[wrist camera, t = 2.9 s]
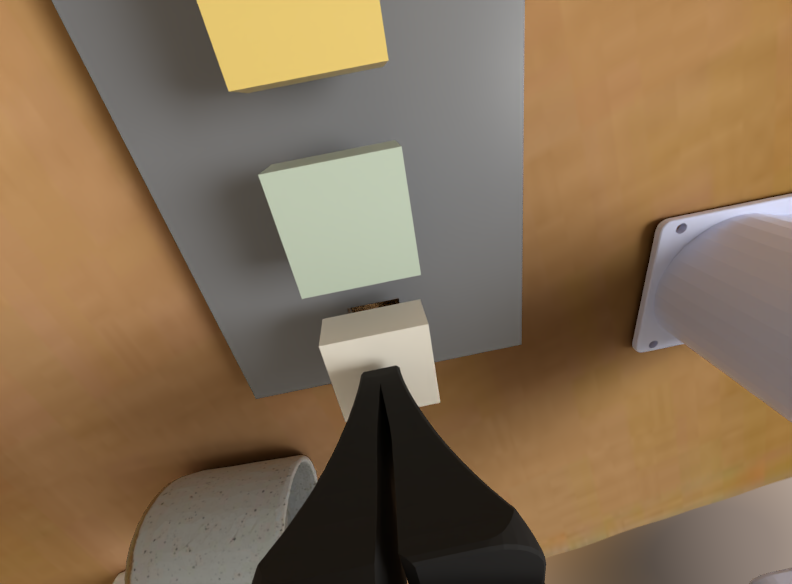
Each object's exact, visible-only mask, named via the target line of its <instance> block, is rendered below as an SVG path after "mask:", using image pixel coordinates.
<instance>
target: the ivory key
mask: <svg viewBox="0 0 792 584" xmlns="http://www.w3.org/2000/svg"><path fill="white" fill-rule="evenodd" d="M319 349H320V352H321V354H322V357H323V360H324V363H325V366H326V369H327V371H328V374H329V377H330V380H331V383H332V386H333V388H334V391H335V394H336V397H337V400H338V403H339V405H340V408H341V411H342V414H343V417H344V419H345V422H347V420H348V418H349V415H350V412H351V409H352V406H353V404H354V401H355V397H356V394H357V391H358V387H359V383H360V378H361V375H362V373H363V372H366V371H371V370H376V369H381V368H386V367H390V366H395V365H397V366H398V367H400V371H401V374H402V377H403V379H404V382H405V384H406V386H407V388H408V390H409V392H410V393H411V395H412V397H413V399H414V400H415V402H416V404H417V405H418V407H421V406H426V405H431V404H436V403H440V397H439V390H438V384H437V377H436V371H435V364H434V357H433V351H432V344H431V337H430V331H429V324H428V321H427V318H426V315H425V312H424V309H423V306H422V303H421V300H420V299H419V300H414V301H409V302H404V303H399V304H394V305H389V306H384V307H379V308H374V309H370V310H365V311H360V312H355V313H350V314H345V315H340V316H335V317H330V318H325V319H323V320H322V327H321V334H320V341H319Z"/></svg>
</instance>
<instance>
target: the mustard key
mask: <svg viewBox="0 0 792 584" xmlns="http://www.w3.org/2000/svg"><path fill="white" fill-rule="evenodd" d="M197 3H198V6H199V9H200V12H201V15H202V17H203V20H204V23H205V26H206V29H207V32H208V34H209V37H210V40H211V43H212V46H213V49H214V51H215V54H216V57H217V60H218V63H219V66H220V68H221V71H222V74H223V77H224V80H225V83H226V85H227V88H228V91H229V92H240V93H251V92H256V91H262V90H267V89H272V88H277V87H282V86H287V85H292V84H297V83H303V82H308V81H313V80H318V79H323V78H328V77H333V76H338V75H344V74H349V73H354V72H359V71H364V70H369V69H374V68H379V67H383V66H384V65H385V64H386V63H387V62H388V61H389V59H388V53H387V46H386V39H385V33H384V26H383V20H382V13H381V6H380V0H197Z"/></svg>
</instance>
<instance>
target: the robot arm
mask: <svg viewBox="0 0 792 584" xmlns="http://www.w3.org/2000/svg"><path fill="white" fill-rule="evenodd" d="M679 225H680V226H679ZM678 226H679V228H678V229H677V227H678ZM676 229H677V230H676ZM681 344H685V345H687V346H688V347H689V348H691V349H692V350H693V351H695V352H696V353H698V354H699V355H700V356H702V357H703V358H704V359H706V360H707V361H709V362H710V363H711V364H713V365H714V366H715V367H717V368H718V369H719V370H721V371H722V372H724V373H725V374H726V375H728V376H729V377H730V378H732V379H733V380H734V381H736V382H737V383H739V384H740V385H741V386H743V387H744V388H745V389H747V390H748V391H749V392H751V393H752V394H754V395H755V396H756V397H758V398H759V399H760V400H762V401H763V402H764V403H766V404H767V405H769V406H770V407H771V408H773V409H774V410H775V411H777V412H778V413H780V414H781V415H782V416H784V417H785V418H786V419H788V420H789V421H790V422H792V193H791V194H786V195H781V196H776V197H771V198H766V199H761V200H757V201H752V202H747V203H742V204H737V205H732V206H727V207H722V208H717V209H712V210H707V211H702V212H697V213H692V214H687V215H682V216H677V217H672V218H668V219H665V220H663V221H662V222H660V223H659V225H658V226H657V228H656V230H655V235H654V240H653V245H652V250H651V255H650V260H649V264H648V269H647V274H646V279H645V284H644V289H643V294H642V298H641V303H640V308H639V313H638V318H637V323H636V328H635V332H634V337H633V342H632V347H633V348H634V349H635V350H636V351H637V352H647V351H652V350H657V349H661V348H666V347H671V346H676V345H681ZM545 570H546V561H545V556H544V554H543V551H542V549H541V547H540V546H539V544H538V542H537V540H536V538H535V537H534V535H533V533H532V532H531V530H530V529H529V527H528V526H527V524H526V523H525V522H524V520H523V519H522V517H521V516H520V515H519V513H518V512H517V510H516V509H515V508H514V507H513V506H511V505H510V504H509V503H508V502H506V501H505V500H504V499H503V498H501V497H500V496H499V495H498V494H497V493H496V492H494V491H493V490H492V489H491V488H490V487H489V486H487V485H486V484H485V483H484V482H483V481H482V480H481V479H480V478H479V477H478V476H476V475H475V474H474V473H473V472H472V471H471V470H470V469H469V468H468V467H467V466H466V465H465V464H464V463H463V462H462V461H461V460H460V459H459V458H458V456H457V455H456V454H455V453H454V452H453V451H452V450H451V449H450V448H449V446H448V445H447V444H446V443H445V442H444V441H443V439H442V438H441V437H440V436H439V435H438V433H437V432H436V431H435V430H434V428H433V427H432V426H431V424H430V423H429V421H428V420H427V419H426V417H425V416H424V414H423V413H422V411H421V410H420V408H419V407H418V405H417V404H416V402H415V400H414V399H413V397H412V395H411V393H410V392H409V390H408V388H407V386H406V384H405V382H404V379H403V377H402V374H401V371H400V367H398V366H397V365H395V366H390V367H386V368H381V369H376V370H371V371H366V372H363V373H362V375H361V378H360V383H359V387H358V391H357V394H356V397H355V401H354V404H353V406H352V409H351V412H350V415H349V418H348V420H347V423H346V425H345V428H344V430H343V432H342V435H341V437H340V439H339V442H338V444H337V446H336V448H335V450H334V452H333V454H332V456H331V458H330V460H329V462H328V464H327V466H326V468H325V469H324V471H323V473H322V475H321V476H320V478H319V480H318V482H317V483H316V485H315V487H314V488H313V490H312V492H311V493H310V495H309V496H308V498H307V499H306V501H305V502H304V504H303V505H302V507H301V508H300V510H299V511H298V512H297V514H296V515H295V517H294V518H293V520H292V521H291V523H290V524H289V525H288V527H287V528H286V529H285V531H284V532H283V533H282V535H281V536H280V537H279V538H278V540H277V541H276V542H275V544H274V545H273V546H272V547H271V549H270V550H269V551H268V552H267V554H266V555H265V556H264V557H263V559H262V560H261V561H260V562H259V564H258V565H257V568H256V571H255V574H254V577H253V580H252V584H407V580H408V583H409V584H545V583H544V581H545ZM406 577H407V578H406ZM749 584H792V568H788V569H784V570H779V571H775V572H770V573H766V574H763V575H760V576H758V577H756V578H754V579H753V580H751V581H750V582H749Z"/></svg>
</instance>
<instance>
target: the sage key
mask: <svg viewBox="0 0 792 584" xmlns="http://www.w3.org/2000/svg"><path fill="white" fill-rule="evenodd" d="M258 176H259V179H260V182H261V184H262V187H263V190H264V193H265V196H266V199H267V201H268V204H269V207H270V210H271V213H272V216H273V218H274V221H275V224H276V227H277V230H278V233H279V235H280V238H281V241H282V244H283V247H284V250H285V252H286V255H287V258H288V261H289V264H290V267H291V269H292V272H293V275H294V278H295V281H296V284H297V286H298V289H299V292H300V295H301V298H302V299H304V298H309V297H314V296H319V295H324V294H329V293H334V292H339V291H344V290H349V289H354V288H359V287H364V286H368V285H373V284H378V283H383V282H388V281H393V280H398V279H403V278H408V277H413V276H418V275H421V271H420V265H419V258H418V251H417V245H416V238H415V232H414V225H413V218H412V212H411V205H410V198H409V192H408V185H407V179H406V172H405V165H404V159H403V152H402V146H401V145H400V144H398V143H397V142H396V141H395V140H393V141H388V142H383V143H378V144H373V145H368V146H363V147H357V148H352V149H347V150H342V151H337V152H332V153H327V154H322V155H317V156H312V157H307V158H302V159H297V160H292V161H287V162H282V163H276V164H272V165H270V166H269V167H268V168H266V169H265V170H264V171H262V172H261V173H260V174H259V175H258Z"/></svg>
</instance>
